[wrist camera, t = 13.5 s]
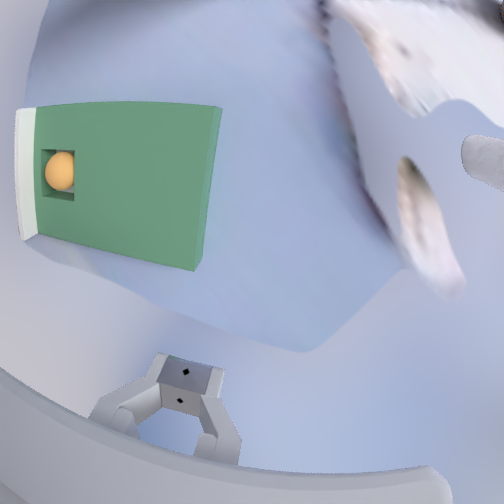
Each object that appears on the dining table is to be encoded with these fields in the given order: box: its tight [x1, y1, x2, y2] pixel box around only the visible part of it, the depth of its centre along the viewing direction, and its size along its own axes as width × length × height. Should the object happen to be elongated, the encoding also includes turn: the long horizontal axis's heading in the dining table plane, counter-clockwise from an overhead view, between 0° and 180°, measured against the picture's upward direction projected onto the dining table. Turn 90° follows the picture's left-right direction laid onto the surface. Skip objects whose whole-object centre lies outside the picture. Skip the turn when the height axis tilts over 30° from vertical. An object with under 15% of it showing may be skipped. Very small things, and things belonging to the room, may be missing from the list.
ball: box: [45, 152, 75, 190], centre depth 30 cm, size 5×5×5 cm
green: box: [14, 101, 222, 272], centre depth 29 cm, size 18×26×6 cm
